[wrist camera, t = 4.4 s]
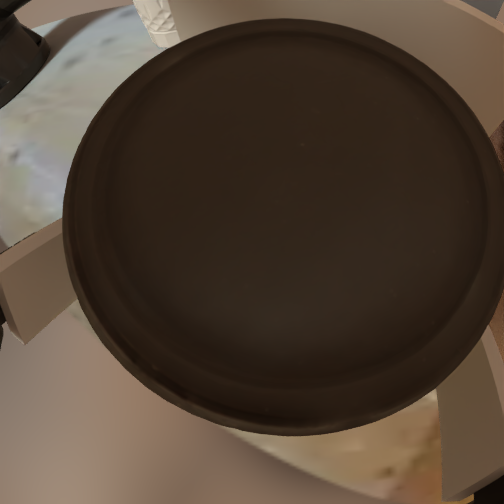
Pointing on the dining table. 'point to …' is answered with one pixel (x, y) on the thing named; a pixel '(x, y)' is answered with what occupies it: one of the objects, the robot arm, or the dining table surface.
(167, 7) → the white cup
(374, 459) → the dining table surface
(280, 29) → the coffee can
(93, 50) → the dining table surface
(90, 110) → the dining table surface
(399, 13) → the curved beige panel
